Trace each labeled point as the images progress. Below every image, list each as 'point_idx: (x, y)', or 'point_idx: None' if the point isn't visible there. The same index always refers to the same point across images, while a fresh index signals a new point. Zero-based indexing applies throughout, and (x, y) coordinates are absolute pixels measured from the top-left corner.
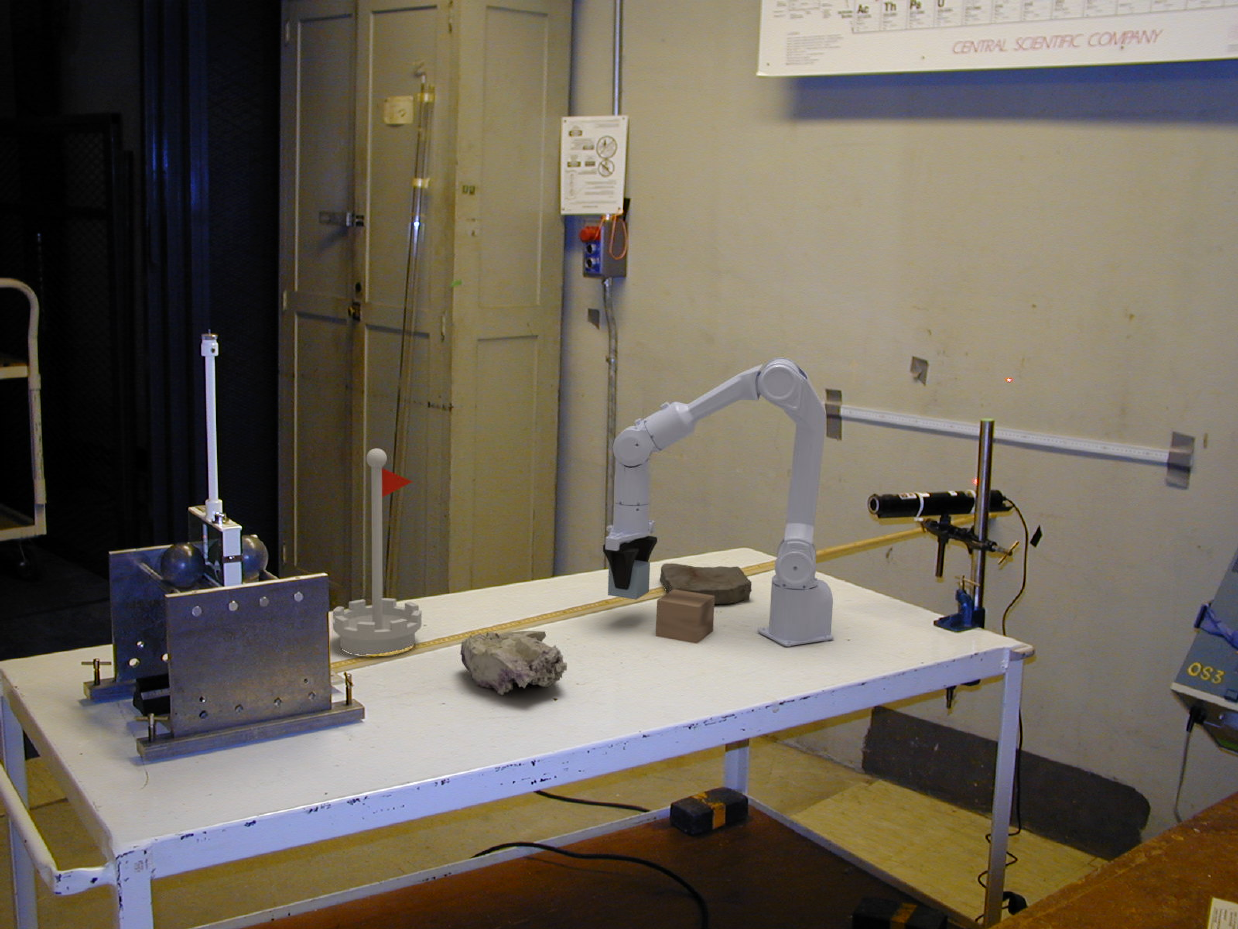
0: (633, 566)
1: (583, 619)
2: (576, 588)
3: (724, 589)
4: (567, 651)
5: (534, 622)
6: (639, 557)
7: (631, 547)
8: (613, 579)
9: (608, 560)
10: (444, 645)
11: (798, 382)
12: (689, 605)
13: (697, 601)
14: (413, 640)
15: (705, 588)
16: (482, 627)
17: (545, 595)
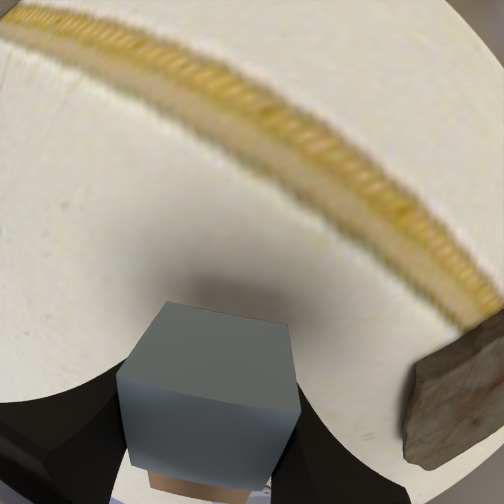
0: (159, 459)
1: (217, 186)
2: (472, 112)
3: (406, 457)
4: (17, 231)
5: (146, 74)
6: (280, 479)
7: (294, 497)
8: (122, 361)
9: (47, 398)
10: (9, 34)
11: None
12: (149, 479)
13: (186, 490)
14: (1, 8)
15: (416, 434)
16: (90, 10)
17: (394, 39)
